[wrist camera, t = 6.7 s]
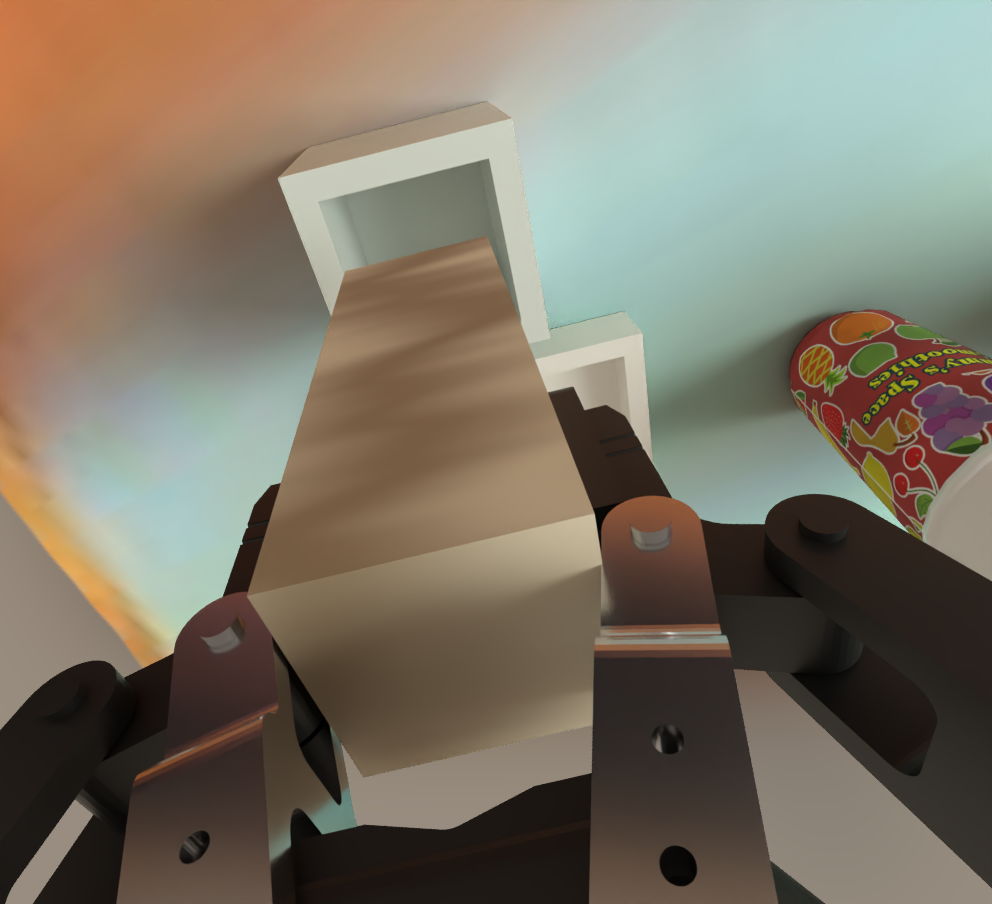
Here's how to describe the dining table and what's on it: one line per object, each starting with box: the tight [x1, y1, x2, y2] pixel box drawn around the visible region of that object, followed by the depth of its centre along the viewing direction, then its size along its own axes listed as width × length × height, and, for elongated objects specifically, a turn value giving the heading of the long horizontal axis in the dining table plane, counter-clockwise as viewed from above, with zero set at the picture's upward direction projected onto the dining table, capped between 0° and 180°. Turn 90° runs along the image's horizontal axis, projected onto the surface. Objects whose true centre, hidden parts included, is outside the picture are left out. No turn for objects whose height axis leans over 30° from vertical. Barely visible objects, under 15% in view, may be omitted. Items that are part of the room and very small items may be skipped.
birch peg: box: [247, 236, 602, 777], centre depth 13 cm, size 4×4×12 cm
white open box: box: [278, 101, 550, 344], centre depth 26 cm, size 8×8×8 cm
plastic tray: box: [529, 311, 653, 464], centre depth 35 cm, size 14×12×3 cm
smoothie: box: [789, 310, 992, 581], centre depth 27 cm, size 8×8×20 cm
